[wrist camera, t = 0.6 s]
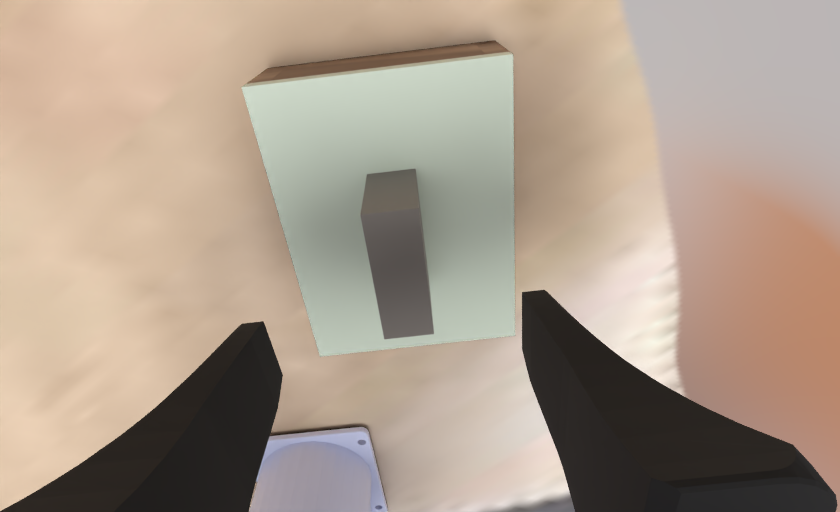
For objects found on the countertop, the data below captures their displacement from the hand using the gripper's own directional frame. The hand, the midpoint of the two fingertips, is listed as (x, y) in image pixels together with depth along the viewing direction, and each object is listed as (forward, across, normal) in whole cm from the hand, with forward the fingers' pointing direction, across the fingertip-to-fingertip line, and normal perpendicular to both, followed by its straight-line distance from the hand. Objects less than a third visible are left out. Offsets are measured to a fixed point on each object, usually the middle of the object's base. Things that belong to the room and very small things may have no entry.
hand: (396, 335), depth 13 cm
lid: (+7, 0, 0) cm, 7 cm away
